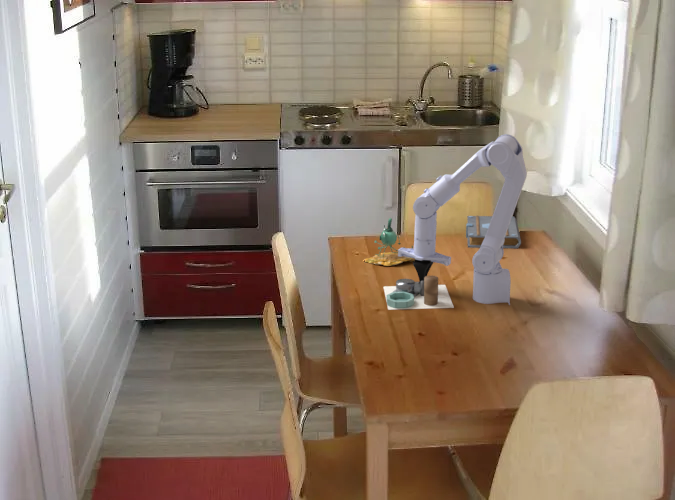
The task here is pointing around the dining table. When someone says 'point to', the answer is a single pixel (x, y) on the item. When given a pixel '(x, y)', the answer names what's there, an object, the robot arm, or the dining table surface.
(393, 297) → the socket
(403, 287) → the grey ball-ended lever
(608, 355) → the dining table surface
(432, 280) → the pin
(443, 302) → the board
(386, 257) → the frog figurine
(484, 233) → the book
